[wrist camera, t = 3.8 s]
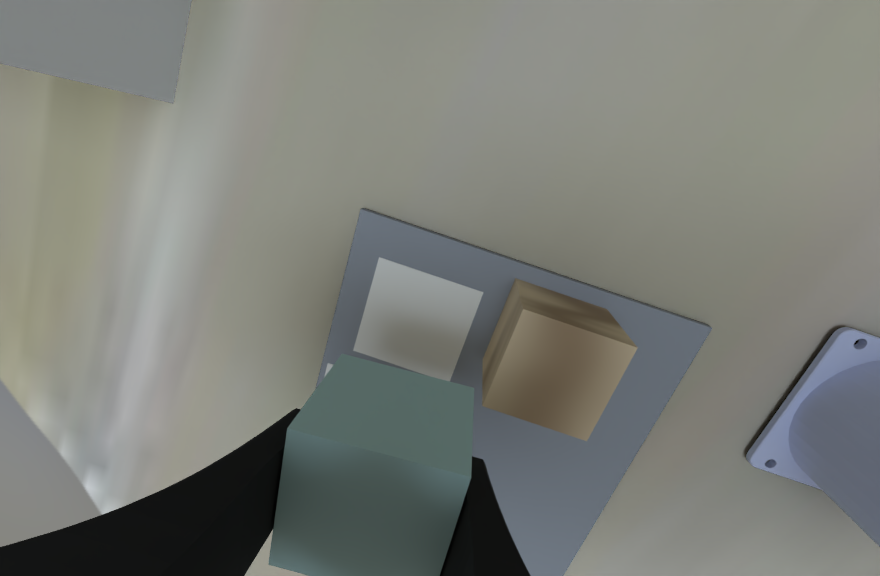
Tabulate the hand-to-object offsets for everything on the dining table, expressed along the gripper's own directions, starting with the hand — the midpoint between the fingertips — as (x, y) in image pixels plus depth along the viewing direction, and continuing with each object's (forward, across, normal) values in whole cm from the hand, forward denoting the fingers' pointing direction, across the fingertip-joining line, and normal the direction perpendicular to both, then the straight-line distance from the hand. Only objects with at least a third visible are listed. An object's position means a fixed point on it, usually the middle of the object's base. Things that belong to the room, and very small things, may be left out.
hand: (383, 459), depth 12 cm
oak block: (+9, -6, -2) cm, 10 cm away
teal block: (+2, 0, 0) cm, 2 cm away
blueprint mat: (+9, -4, +4) cm, 11 cm away
